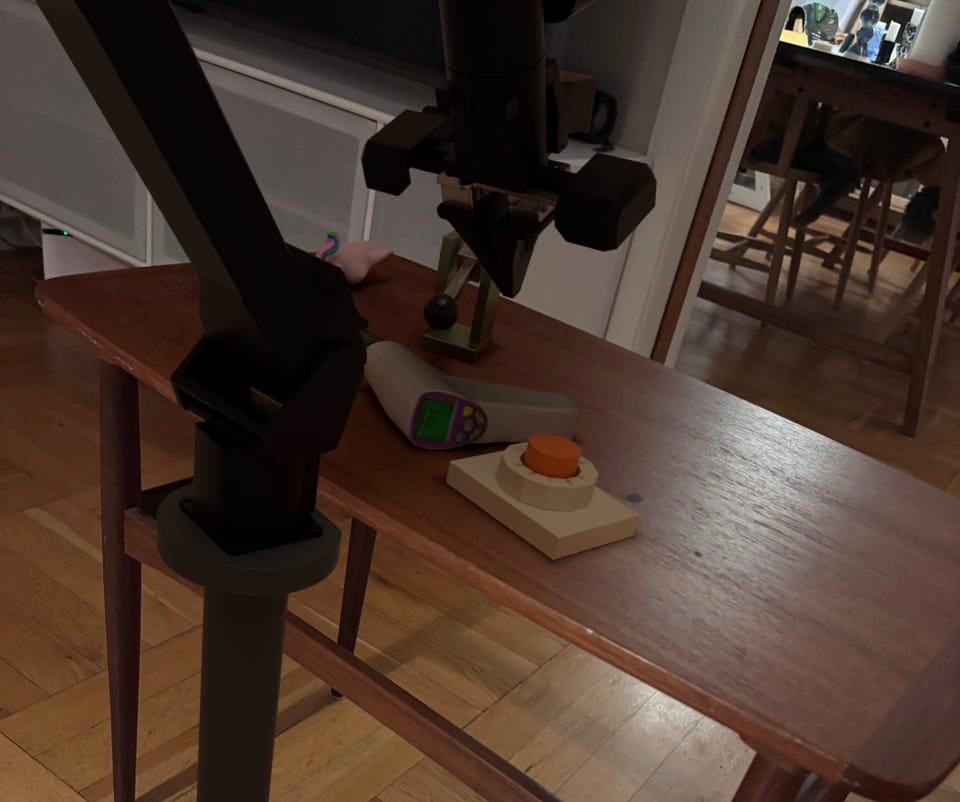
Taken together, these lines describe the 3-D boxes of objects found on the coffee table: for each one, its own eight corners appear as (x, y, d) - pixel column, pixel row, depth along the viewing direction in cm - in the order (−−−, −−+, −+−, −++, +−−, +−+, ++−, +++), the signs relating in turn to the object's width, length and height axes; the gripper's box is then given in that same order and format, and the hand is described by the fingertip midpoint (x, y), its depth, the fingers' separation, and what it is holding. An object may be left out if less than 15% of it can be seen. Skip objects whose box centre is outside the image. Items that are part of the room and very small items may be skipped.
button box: (552, 560, 62) (565, 512, 60) (445, 482, 68) (454, 436, 66) (633, 536, 67) (648, 491, 65) (526, 465, 73) (537, 422, 71)
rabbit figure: (313, 318, 94) (409, 275, 104) (311, 257, 90) (412, 218, 100) (265, 297, 96) (364, 257, 106) (262, 237, 92) (365, 200, 102)
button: (548, 485, 64) (554, 461, 63) (512, 460, 66) (517, 437, 65) (585, 476, 66) (592, 453, 65) (549, 453, 68) (555, 430, 67)
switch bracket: (478, 364, 89) (499, 254, 83) (417, 346, 90) (434, 236, 84) (496, 347, 94) (518, 242, 88) (438, 330, 94) (455, 224, 89)
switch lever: (450, 341, 83) (452, 312, 80) (417, 331, 83) (418, 302, 81) (493, 270, 89) (495, 240, 86) (462, 261, 89) (464, 232, 87)
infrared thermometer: (576, 457, 78) (409, 453, 71) (505, 394, 86) (348, 384, 79) (594, 404, 76) (423, 393, 68) (519, 344, 84) (359, 329, 76)
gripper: (707, 21, 56) (685, 265, 68) (438, -23, 63) (463, 206, 75) (615, 110, 51) (609, 357, 63) (334, 52, 58) (379, 284, 70)
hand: (511, 294), depth 68 cm, fingers closed
